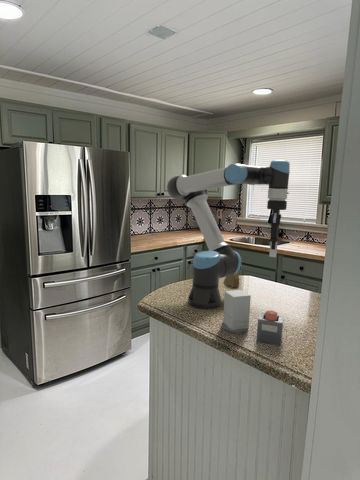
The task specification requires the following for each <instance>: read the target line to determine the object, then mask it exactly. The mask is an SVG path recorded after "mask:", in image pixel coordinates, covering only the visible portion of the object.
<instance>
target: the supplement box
mask: <svg viewBox="0 0 360 480" xmlns="http://www.w3.org/2000/svg"><path fill="white" fill-rule="evenodd" d="M223 295H224V297H223V298H224V299H223V318H222V322H223V323H224V324H225V325H227V326H228V327H229V328H230V329H231V330H236V329H245V328H249V327H250V326H249V325H250V314H251V313H250V312H251V311H250V310H251V299H252V298H251V295H250V294H248V293H247V292H245V291H244V290H242V289H237V290H235V289H234V290H225V291H224V294H223Z"/></svg>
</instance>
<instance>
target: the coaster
mask: <svg viewBox="0 0 360 480" xmlns="http://www.w3.org/2000/svg"><path fill="white" fill-rule="evenodd" d="M222 328H223V329H224V330H223V329H222ZM221 329H222V330H223V331H224V332H227V331H228V332H227V333H229V332H231V333H230V334H234V333H239V334H240V333H242V334H246V333H247V332H248V331H249V328H245V329H236V330H231V329H230V328H229V327H228V326H227V325H225V324H224V323H223V321H222V322H221ZM239 334H238V335H239ZM240 335H241V334H240Z"/></svg>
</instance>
